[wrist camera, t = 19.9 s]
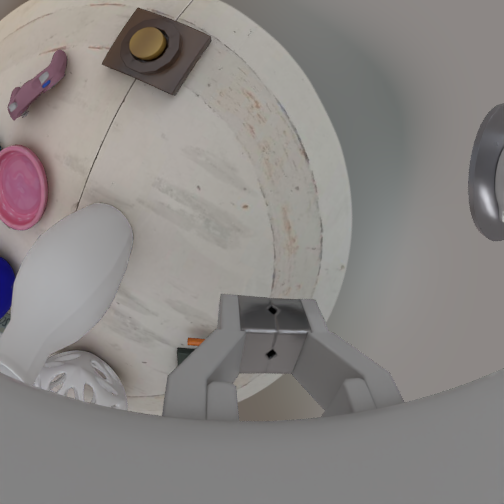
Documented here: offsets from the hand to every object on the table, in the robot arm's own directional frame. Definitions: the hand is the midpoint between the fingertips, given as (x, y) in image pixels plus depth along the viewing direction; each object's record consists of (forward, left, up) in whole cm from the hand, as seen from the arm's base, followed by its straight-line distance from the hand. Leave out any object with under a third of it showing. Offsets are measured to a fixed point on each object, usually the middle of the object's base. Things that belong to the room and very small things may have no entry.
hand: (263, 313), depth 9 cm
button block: (+11, -13, -27) cm, 32 cm away
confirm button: (+11, -13, -23) cm, 29 cm away
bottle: (+17, +11, -27) cm, 34 cm away
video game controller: (+27, -10, -27) cm, 40 cm away
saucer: (+31, +4, -27) cm, 41 cm away
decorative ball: (+26, +42, -27) cm, 56 cm away
